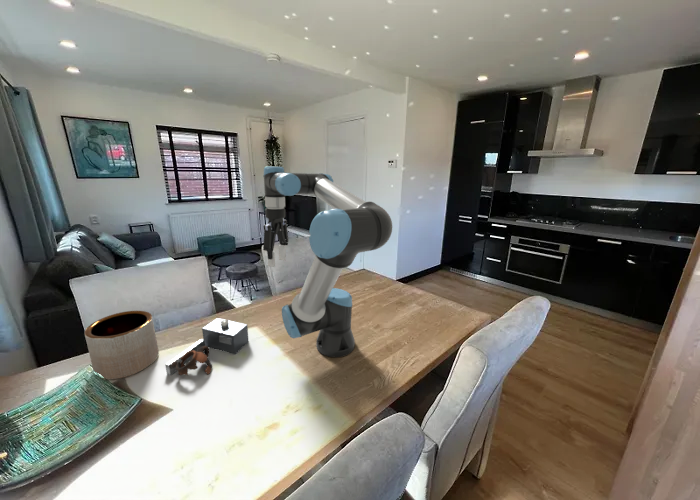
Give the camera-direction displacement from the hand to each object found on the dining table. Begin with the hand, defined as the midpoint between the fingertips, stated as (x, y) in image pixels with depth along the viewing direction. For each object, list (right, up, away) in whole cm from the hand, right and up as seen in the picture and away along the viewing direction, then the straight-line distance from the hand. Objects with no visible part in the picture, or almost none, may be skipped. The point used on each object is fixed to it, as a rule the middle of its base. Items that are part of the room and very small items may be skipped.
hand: (277, 263), depth 115 cm
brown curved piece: (-22, -36, -20) cm, 46 cm away
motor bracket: (-20, -33, -13) cm, 42 cm away
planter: (-47, -34, -18) cm, 61 cm away
